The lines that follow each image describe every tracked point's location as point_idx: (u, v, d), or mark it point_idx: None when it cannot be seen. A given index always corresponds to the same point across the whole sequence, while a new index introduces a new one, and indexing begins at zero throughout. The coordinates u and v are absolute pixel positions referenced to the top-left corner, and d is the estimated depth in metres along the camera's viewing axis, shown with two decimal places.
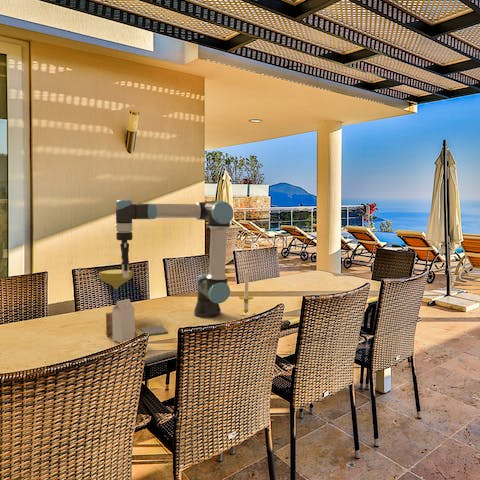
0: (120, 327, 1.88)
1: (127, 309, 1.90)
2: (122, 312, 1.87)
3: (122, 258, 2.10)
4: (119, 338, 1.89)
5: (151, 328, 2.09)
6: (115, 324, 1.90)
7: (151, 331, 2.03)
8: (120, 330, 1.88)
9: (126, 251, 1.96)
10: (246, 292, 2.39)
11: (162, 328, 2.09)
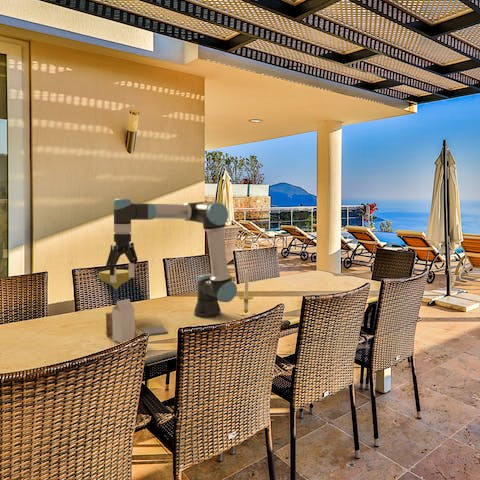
0: (120, 327, 1.88)
1: (127, 309, 1.90)
2: (122, 312, 1.87)
3: (130, 261, 1.96)
4: (119, 338, 1.89)
5: (151, 328, 2.09)
6: (115, 324, 1.90)
7: (151, 331, 2.03)
8: (120, 330, 1.88)
9: (112, 254, 1.82)
10: (246, 292, 2.39)
11: (162, 328, 2.09)
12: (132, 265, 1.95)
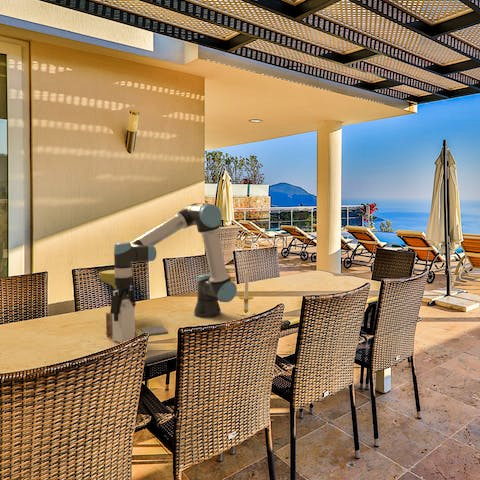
0: (120, 327, 1.88)
1: (127, 309, 1.90)
2: (122, 312, 1.87)
3: None
4: (119, 338, 1.89)
5: (151, 328, 2.09)
6: None
7: (151, 331, 2.03)
8: (120, 330, 1.88)
9: (114, 300, 1.85)
10: (246, 292, 2.39)
11: (162, 328, 2.09)
12: None
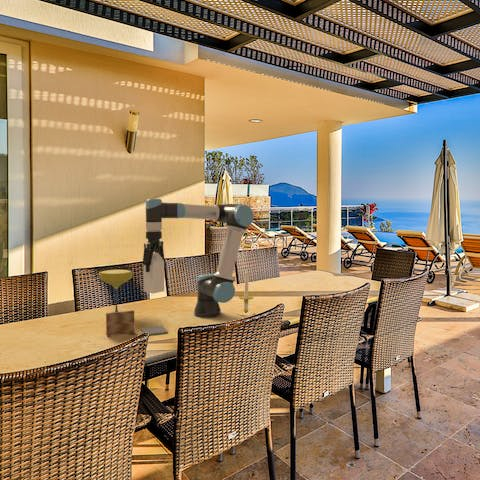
0: (152, 277, 2.00)
1: (158, 261, 2.01)
2: (153, 263, 1.99)
3: None
4: (150, 288, 2.01)
5: (151, 328, 2.09)
6: None
7: (151, 331, 2.03)
8: (151, 280, 2.00)
9: (146, 252, 1.96)
10: (246, 292, 2.39)
11: (162, 328, 2.09)
12: None
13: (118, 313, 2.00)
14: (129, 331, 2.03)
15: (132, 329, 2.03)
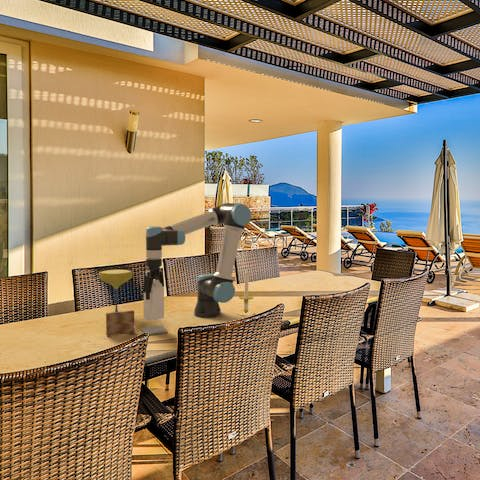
0: (152, 305, 2.01)
1: (158, 288, 2.03)
2: (153, 291, 2.00)
3: None
4: (150, 316, 2.02)
5: (151, 328, 2.09)
6: None
7: (151, 331, 2.03)
8: (151, 308, 2.01)
9: (146, 280, 1.98)
10: (246, 292, 2.39)
11: (162, 328, 2.09)
12: None
13: (118, 313, 2.00)
14: (129, 331, 2.03)
15: (132, 329, 2.03)
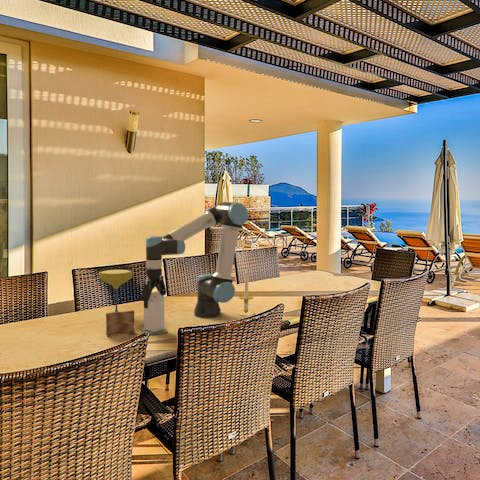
0: (152, 317, 2.02)
1: (158, 300, 2.03)
2: (153, 303, 2.01)
3: None
4: (151, 327, 2.03)
5: None
6: (146, 314, 2.04)
7: None
8: (152, 319, 2.02)
9: (146, 288, 1.97)
10: (246, 292, 2.39)
11: None
12: None
13: (118, 313, 2.00)
14: (129, 331, 2.03)
15: (132, 329, 2.03)
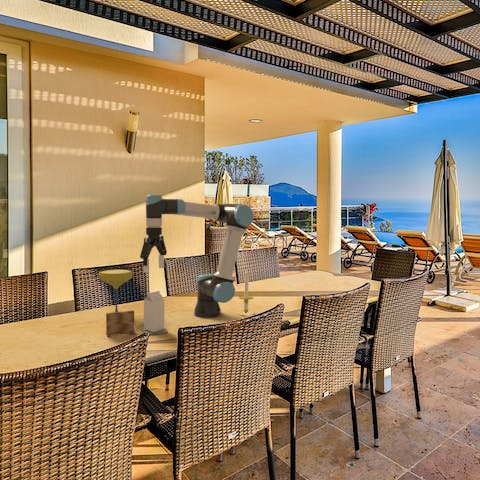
0: (152, 317, 2.02)
1: (158, 300, 2.03)
2: (154, 303, 2.01)
3: (159, 253, 2.10)
4: (151, 327, 2.03)
5: None
6: (146, 314, 2.04)
7: None
8: (152, 319, 2.02)
9: (145, 246, 1.95)
10: (246, 292, 2.39)
11: None
12: (162, 257, 2.09)
13: (118, 313, 2.00)
14: (129, 331, 2.03)
15: (132, 329, 2.03)
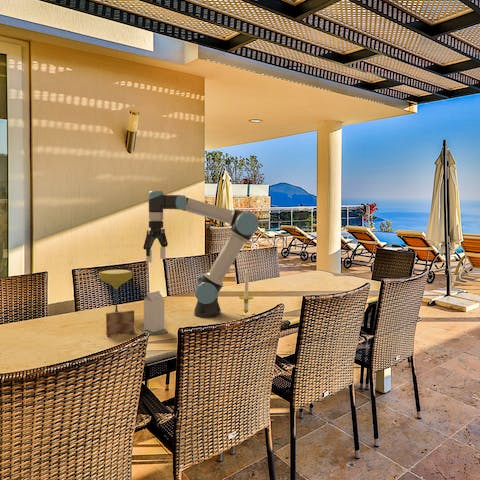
0: (152, 317, 2.02)
1: (158, 300, 2.03)
2: (154, 303, 2.01)
3: (161, 245, 2.27)
4: (151, 327, 2.03)
5: None
6: (146, 314, 2.04)
7: None
8: (152, 319, 2.02)
9: (148, 238, 2.12)
10: (246, 292, 2.39)
11: None
12: (163, 248, 2.26)
13: (118, 313, 2.00)
14: (129, 331, 2.03)
15: (132, 329, 2.03)
